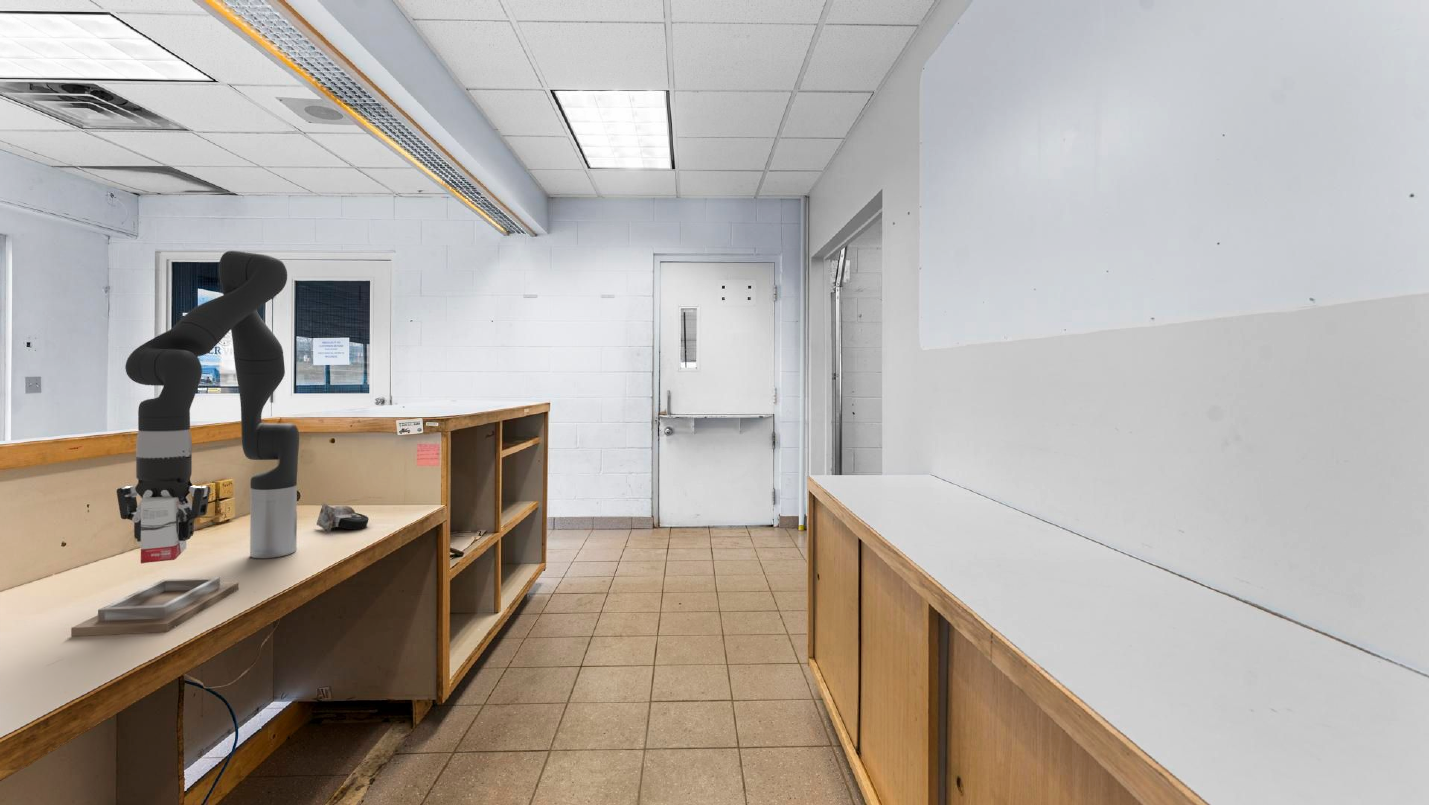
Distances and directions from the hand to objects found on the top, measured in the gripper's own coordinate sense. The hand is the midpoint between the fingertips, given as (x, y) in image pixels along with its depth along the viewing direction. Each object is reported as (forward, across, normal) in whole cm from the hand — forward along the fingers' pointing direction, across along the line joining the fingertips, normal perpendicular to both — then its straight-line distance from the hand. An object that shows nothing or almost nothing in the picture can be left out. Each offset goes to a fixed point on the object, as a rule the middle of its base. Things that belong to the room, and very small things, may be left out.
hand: (164, 540), depth 106 cm
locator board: (+14, 0, 0) cm, 14 cm away
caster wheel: (+14, +8, +59) cm, 61 cm away
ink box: (+3, 0, 0) cm, 3 cm away
